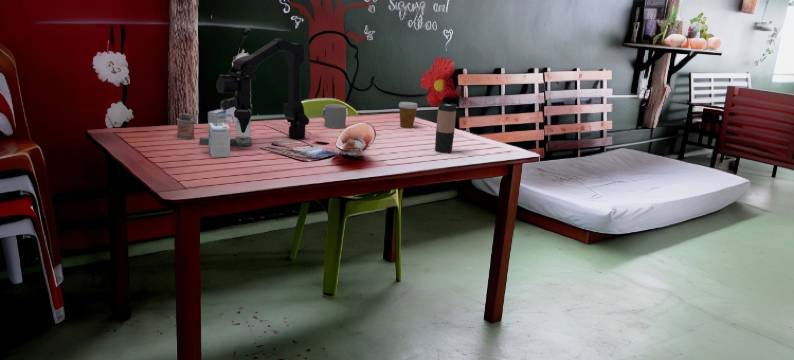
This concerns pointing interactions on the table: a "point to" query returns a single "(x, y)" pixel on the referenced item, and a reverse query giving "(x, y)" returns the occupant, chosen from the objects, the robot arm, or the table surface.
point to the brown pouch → (185, 126)
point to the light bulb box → (219, 140)
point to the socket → (247, 131)
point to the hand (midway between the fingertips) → (243, 131)
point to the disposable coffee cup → (407, 114)
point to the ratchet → (231, 141)
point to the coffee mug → (334, 116)
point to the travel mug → (445, 127)
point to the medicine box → (216, 117)
